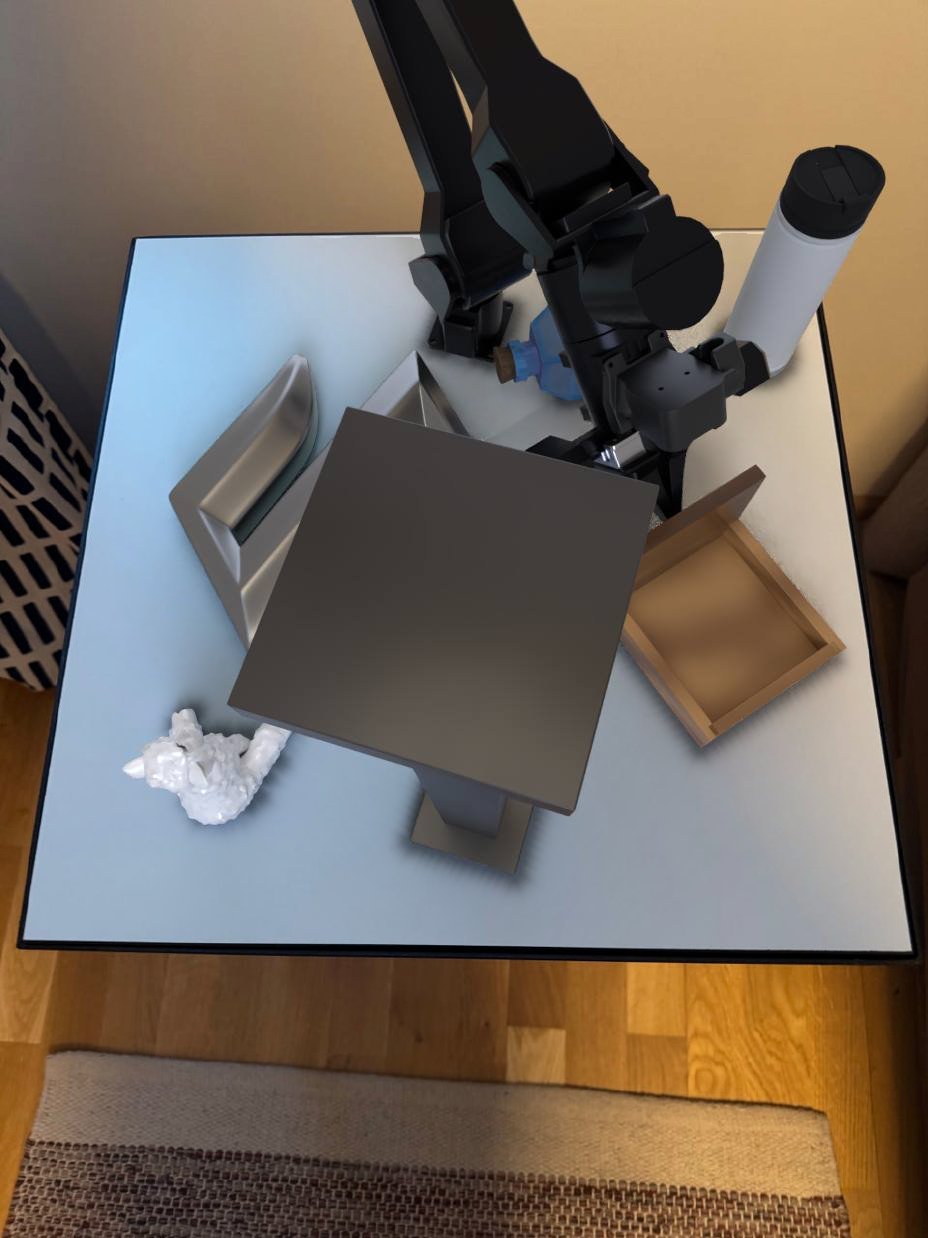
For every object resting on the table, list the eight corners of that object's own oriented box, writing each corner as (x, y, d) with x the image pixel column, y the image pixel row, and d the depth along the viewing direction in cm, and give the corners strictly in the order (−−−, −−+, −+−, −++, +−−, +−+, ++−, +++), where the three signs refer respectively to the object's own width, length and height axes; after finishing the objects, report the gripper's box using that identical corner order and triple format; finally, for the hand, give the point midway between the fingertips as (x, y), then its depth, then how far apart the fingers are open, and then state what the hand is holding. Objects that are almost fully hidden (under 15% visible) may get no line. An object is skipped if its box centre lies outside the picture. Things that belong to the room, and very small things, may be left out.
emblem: (187, 328, 71) (516, 340, 70) (208, 366, 76) (514, 378, 75) (124, 644, 62) (499, 664, 61) (151, 663, 67) (498, 682, 66)
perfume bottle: (616, 328, 76) (488, 358, 75) (626, 281, 70) (488, 312, 70) (637, 385, 74) (506, 415, 74) (650, 340, 68) (507, 373, 68)
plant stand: (443, 740, 65) (346, 404, 21) (543, 770, 64) (660, 485, 20) (410, 842, 62) (225, 704, 19) (514, 875, 61) (575, 811, 18)
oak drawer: (592, 604, 68) (609, 556, 58) (719, 523, 70) (756, 463, 60) (700, 748, 64) (736, 722, 54) (831, 658, 66) (889, 617, 56)
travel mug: (730, 390, 74) (814, 214, 55) (709, 329, 76) (782, 139, 57) (799, 377, 74) (906, 197, 55) (775, 316, 76) (870, 123, 57)
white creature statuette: (298, 719, 65) (257, 681, 54) (282, 832, 63) (236, 817, 51) (179, 711, 66) (114, 672, 54) (158, 823, 63) (85, 806, 52)
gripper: (538, 404, 46) (629, 625, 54) (800, 250, 49) (853, 480, 56) (466, 388, 56) (550, 577, 63) (688, 261, 59) (745, 455, 66)
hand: (673, 523), depth 62 cm, fingers closed, pressing on oak drawer
